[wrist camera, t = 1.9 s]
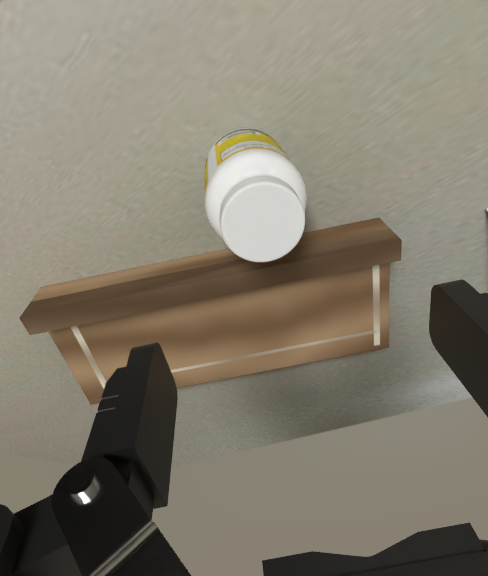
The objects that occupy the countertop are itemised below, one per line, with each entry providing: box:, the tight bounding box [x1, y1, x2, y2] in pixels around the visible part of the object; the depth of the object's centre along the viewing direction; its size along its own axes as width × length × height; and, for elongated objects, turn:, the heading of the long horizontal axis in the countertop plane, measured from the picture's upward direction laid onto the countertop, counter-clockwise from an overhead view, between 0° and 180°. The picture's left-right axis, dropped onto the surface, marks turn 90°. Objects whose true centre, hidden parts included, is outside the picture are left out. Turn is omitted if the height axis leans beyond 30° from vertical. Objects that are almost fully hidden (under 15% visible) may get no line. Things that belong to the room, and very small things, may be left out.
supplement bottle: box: [205, 128, 307, 262], centre depth 22 cm, size 5×5×10 cm
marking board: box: [20, 218, 402, 405], centre depth 31 cm, size 11×26×4 cm, turn 101°
